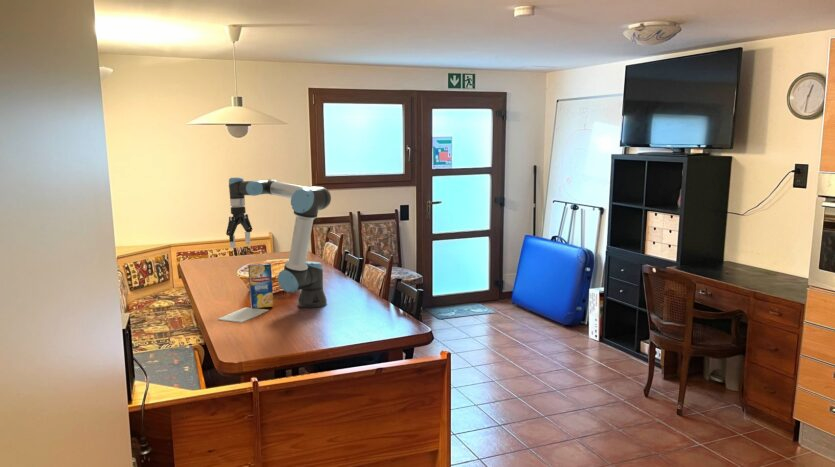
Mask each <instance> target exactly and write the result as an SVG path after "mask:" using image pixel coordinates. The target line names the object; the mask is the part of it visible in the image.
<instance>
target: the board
mask: <svg viewBox="0 0 835 467" xmlns="http://www.w3.org/2000/svg"><path fill="white" fill-rule="evenodd" d="M269 311H270V310H269V309H266V308H251V307H248V306H247V307H243V308H240V309H238V310H236V311H233V312H230V313H229V314H225V315H224V316H221V317H219V318H217V321H225V322H234V323H238V324H239V323H246V322H247V321H250V320H252V319H254V318H256V317H258V316H260V315H262V313H263V314H265V313H267V312H269Z"/></svg>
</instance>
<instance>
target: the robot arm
mask: <svg viewBox="0 0 835 467" xmlns="http://www.w3.org/2000/svg"><path fill="white" fill-rule="evenodd" d="M228 189H229V191H228V192H229V199H230V200H229V202H230V214H231V215H232V216H229V217H228V223H227V229H226V232H225V234H226V236H227V237H228V238H229V247H230V249H236V235H235V232H236V230H237V227H238V226H239V225H241V227H242V228H243V229H244V231H245V232H244V243H245V245H251V233H252V232H253V227H252V224H251V222H250V218H249V214H246V213H247V212H246V211H247V210H246V196H252V197H256V196H259V195H260V196H261V195H271V196H276V197H277V196H278V197H282V198H286V199H290V206H291V209H292V210H293V214H294V216H295V222H294V227H293V232H292V239H291V245H290V250H289V255H288V261H286V262H285V263H284V267H283V269H282V270H280V272H279V273H278V274H277V281H278V284H279V286H280V288H281V289H282V290H283V291H284V292H286V293H295V292H297V291H299V290H300V293H299V296H298V299H297V305H298V307H300V308H305V309H306V308H307V309H308V308H310V309H312V308H314V309H315V308H321V307H324V306H326V305H327V303H328V302H327V301H328V300H327V298H326V297H327V296H326V294H325V291H324V274H323V273H324V269H323V264H322V263H321V262H319V261H318V262H317V261H309V260H308V261H307V257H308V252H309V245H310V240H311V235H312V230H313V224H314V220H315V219H316V218H318V214H319V211H321V210H324V209H326V208H328V206H330V204H331V201H332V196H331V192H330V191H329V190H328V189H327V188H326V187H323V186H314V185H313V186H312V185H311V187H310V186H303V185H297V184H292V183H288V182H281V181H278V180H276V179H270V178H269V179H262V180H261V179H260V180H259V179H258V180H246V181H245V180H244V177H241V176H239V177H230V178H228Z"/></svg>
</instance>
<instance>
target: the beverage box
mask: <svg viewBox="0 0 835 467" xmlns="http://www.w3.org/2000/svg"><path fill="white" fill-rule="evenodd" d="M247 266H248V269H247V270H248V284H249V286H248V287H249V299H250V301H249V302H250V308H257V309H262V308H270V307H274V293H273V277H272V264H271V263H260V264H248V265H247Z"/></svg>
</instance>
